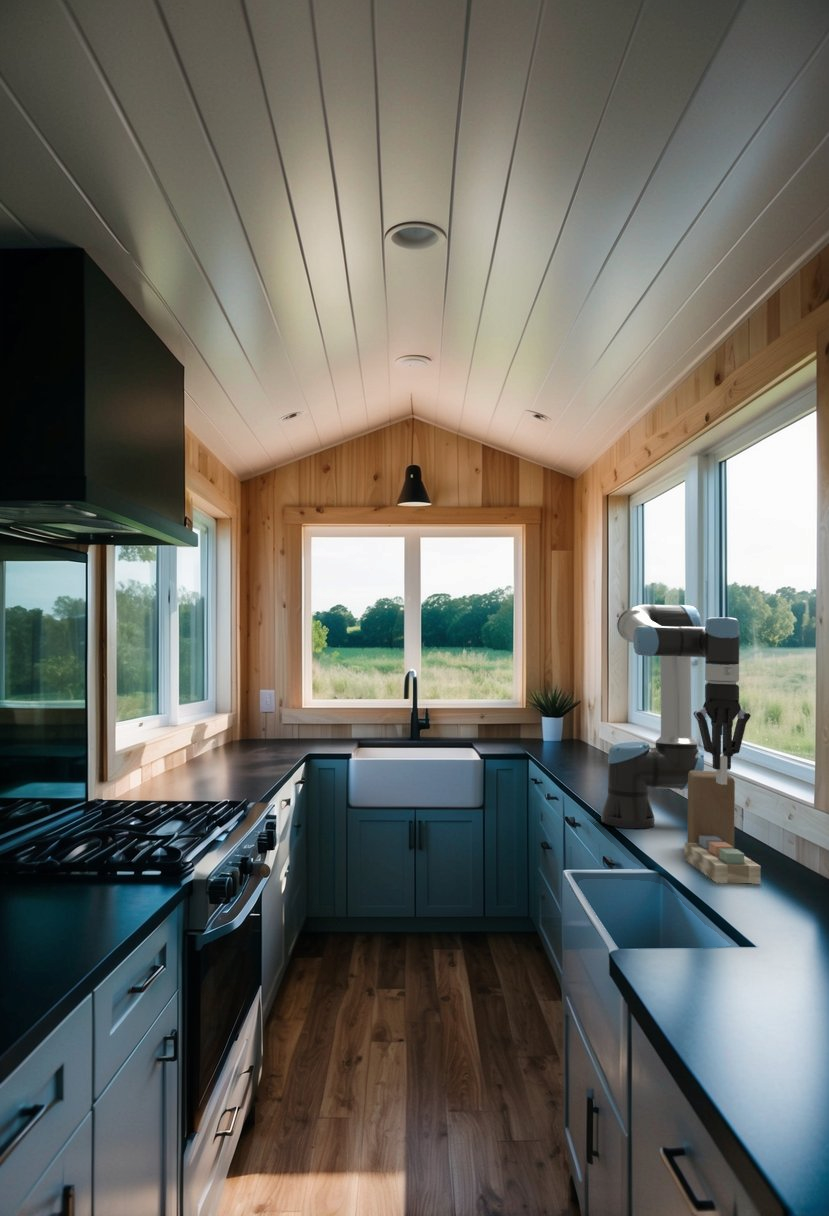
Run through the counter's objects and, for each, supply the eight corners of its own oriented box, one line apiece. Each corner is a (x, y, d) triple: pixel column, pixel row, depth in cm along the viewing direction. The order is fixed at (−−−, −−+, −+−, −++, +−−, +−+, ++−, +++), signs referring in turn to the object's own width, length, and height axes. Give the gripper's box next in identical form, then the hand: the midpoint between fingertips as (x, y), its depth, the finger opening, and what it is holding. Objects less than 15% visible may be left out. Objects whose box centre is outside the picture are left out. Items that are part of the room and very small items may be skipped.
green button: (719, 866, 179) (719, 848, 179) (736, 866, 179) (736, 849, 179) (726, 871, 175) (726, 853, 175) (744, 871, 175) (744, 853, 175)
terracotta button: (708, 858, 185) (708, 841, 185) (725, 859, 185) (725, 842, 185) (715, 863, 181) (715, 846, 181) (732, 864, 181) (732, 846, 181)
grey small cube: (698, 852, 191) (699, 835, 191) (715, 852, 191) (715, 835, 191) (705, 856, 187) (705, 839, 187) (721, 856, 187) (722, 839, 187)
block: (734, 859, 193) (735, 778, 194) (692, 856, 195) (693, 775, 196) (727, 849, 203) (727, 771, 204) (686, 846, 205) (687, 769, 206)
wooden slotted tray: (684, 859, 192) (684, 842, 192) (724, 859, 192) (724, 843, 193) (715, 883, 173) (716, 865, 173) (760, 884, 173) (760, 865, 174)
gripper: (700, 682, 181) (700, 785, 179) (756, 684, 181) (756, 786, 180) (688, 681, 188) (688, 780, 187) (742, 682, 188) (742, 781, 187)
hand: (721, 783), depth 183 cm, fingers closed
